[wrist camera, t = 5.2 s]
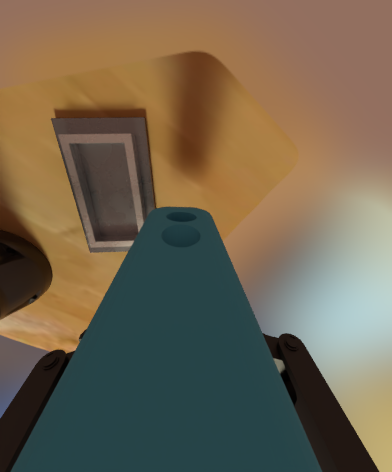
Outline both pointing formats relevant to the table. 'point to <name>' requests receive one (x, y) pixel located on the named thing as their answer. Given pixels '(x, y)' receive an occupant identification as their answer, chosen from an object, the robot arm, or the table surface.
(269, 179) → the table surface
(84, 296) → the table surface
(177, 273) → the block
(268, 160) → the table surface
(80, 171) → the grey rectangular tray
